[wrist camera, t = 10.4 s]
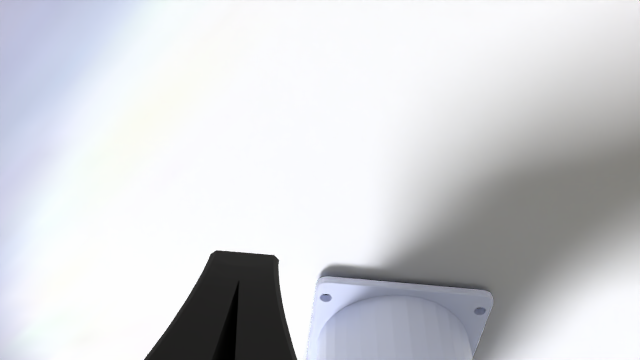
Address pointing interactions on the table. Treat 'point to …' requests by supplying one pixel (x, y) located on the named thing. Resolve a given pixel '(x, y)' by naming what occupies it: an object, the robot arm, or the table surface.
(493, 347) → the table surface
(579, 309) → the table surface
